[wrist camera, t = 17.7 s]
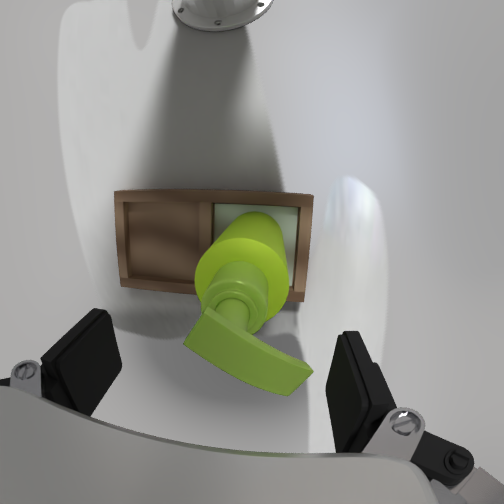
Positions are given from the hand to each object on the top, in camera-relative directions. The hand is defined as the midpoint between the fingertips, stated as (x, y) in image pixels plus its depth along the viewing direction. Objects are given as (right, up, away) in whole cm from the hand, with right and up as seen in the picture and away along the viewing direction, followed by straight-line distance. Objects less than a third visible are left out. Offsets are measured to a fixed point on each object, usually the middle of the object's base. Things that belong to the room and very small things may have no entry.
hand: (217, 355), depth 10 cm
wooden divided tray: (-3, +5, +21) cm, 22 cm away
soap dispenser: (+2, +5, +20) cm, 20 cm away
